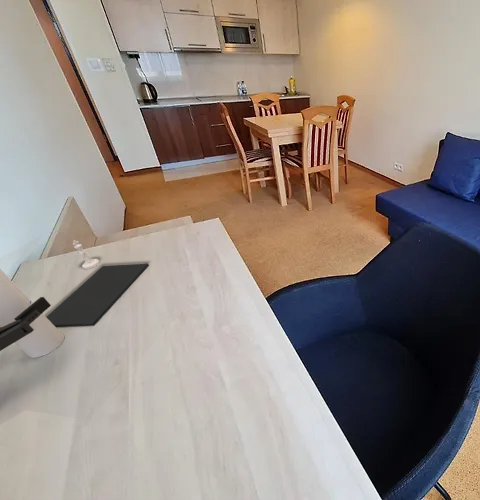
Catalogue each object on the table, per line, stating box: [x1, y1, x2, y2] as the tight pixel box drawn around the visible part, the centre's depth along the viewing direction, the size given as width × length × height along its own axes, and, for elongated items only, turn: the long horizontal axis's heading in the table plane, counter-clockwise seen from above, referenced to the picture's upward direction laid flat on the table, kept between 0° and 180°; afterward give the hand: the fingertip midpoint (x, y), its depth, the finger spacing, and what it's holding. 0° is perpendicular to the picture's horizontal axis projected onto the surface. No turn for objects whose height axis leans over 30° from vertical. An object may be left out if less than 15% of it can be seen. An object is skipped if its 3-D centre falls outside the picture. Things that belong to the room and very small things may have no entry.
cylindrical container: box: [0, 268, 65, 359], centre depth 69 cm, size 7×7×25 cm
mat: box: [45, 263, 150, 328], centre depth 91 cm, size 16×26×1 cm, turn 179°
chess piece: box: [72, 240, 101, 270], centre depth 102 cm, size 5×5×10 cm
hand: (18, 302), depth 70 cm, fingers open, 13 cm apart
